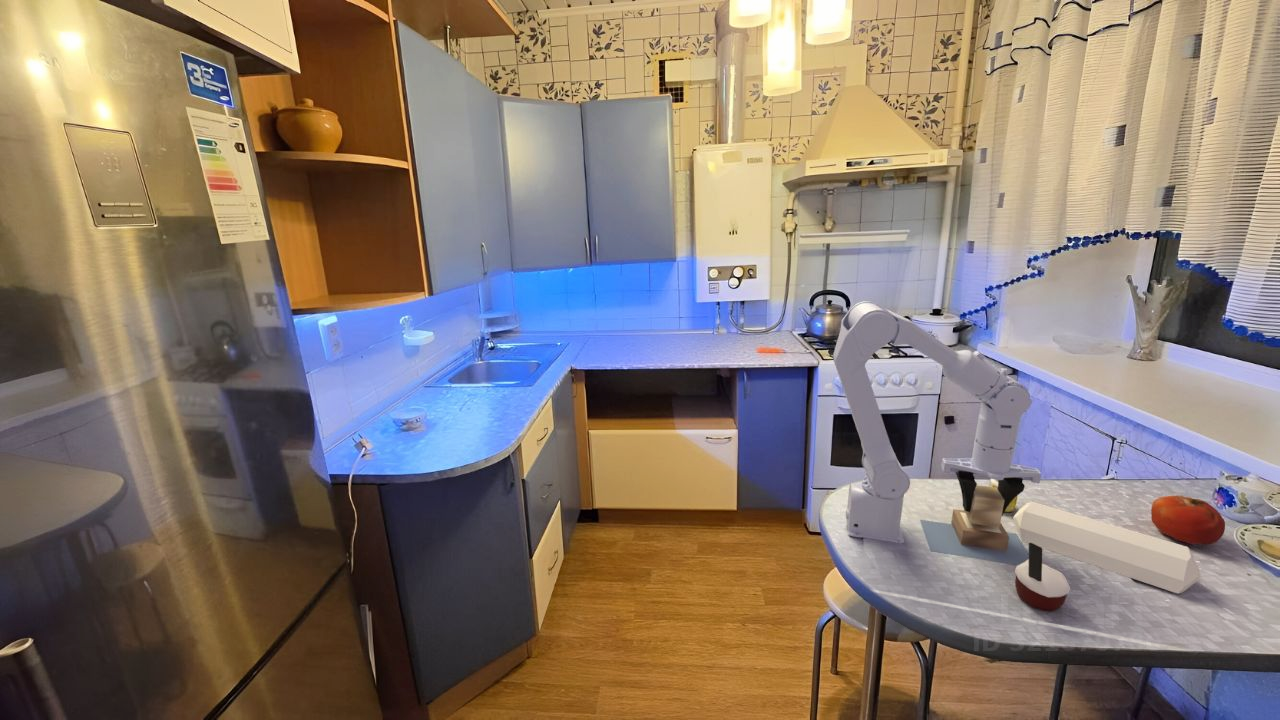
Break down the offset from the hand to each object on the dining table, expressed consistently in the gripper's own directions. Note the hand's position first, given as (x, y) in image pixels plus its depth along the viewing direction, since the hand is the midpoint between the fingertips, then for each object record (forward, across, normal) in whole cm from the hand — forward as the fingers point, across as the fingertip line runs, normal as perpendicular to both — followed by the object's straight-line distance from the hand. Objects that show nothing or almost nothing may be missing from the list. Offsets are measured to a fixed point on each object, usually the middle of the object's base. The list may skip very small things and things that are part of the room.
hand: (982, 510), depth 90 cm
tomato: (+6, +35, +11) cm, 37 cm away
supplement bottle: (+6, +7, +12) cm, 15 cm away
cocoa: (+6, +4, -15) cm, 17 cm away
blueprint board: (+6, -1, -2) cm, 6 cm away
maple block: (+2, 0, 0) cm, 2 cm away
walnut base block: (+5, 0, 0) cm, 5 cm away
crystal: (+6, +18, 0) cm, 19 cm away
